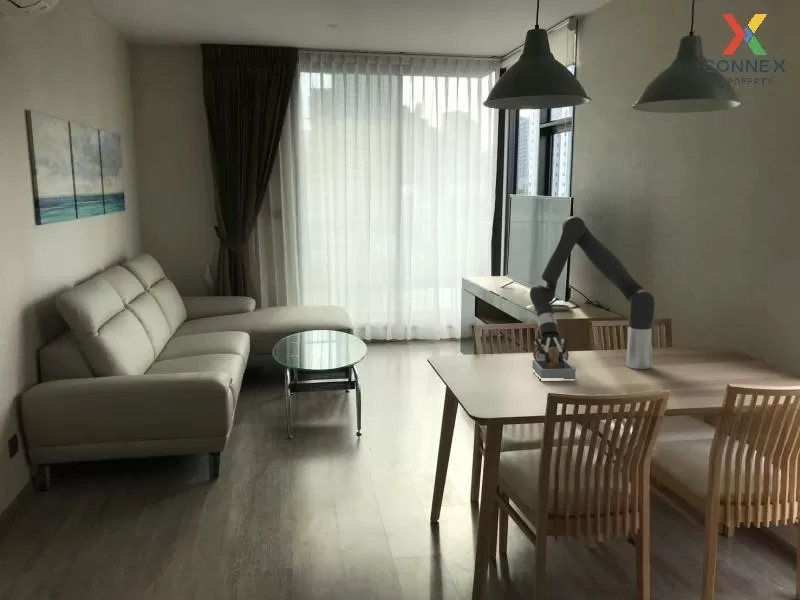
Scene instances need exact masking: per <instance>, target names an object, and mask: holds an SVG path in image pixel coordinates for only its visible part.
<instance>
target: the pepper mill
mask: <svg viewBox="0 0 800 600" xmlns="http://www.w3.org/2000/svg"><path fill="white" fill-rule="evenodd" d="M548 353H549V358H550V362H549V363H548V366H547V369H559V349H558V348H557V347H555V346H552V347H550V348H549V350H548Z"/></svg>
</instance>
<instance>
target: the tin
mask: <svg viewBox="0 0 800 600" xmlns="http://www.w3.org/2000/svg"><path fill="white" fill-rule="evenodd" d="M559 345H560V344H559ZM541 346H542V348H543V350H544V348H545V346H544V345H543V344H541ZM560 348H561V349H563V345H562V344H561V345H560ZM548 350H549V348H548ZM532 355H533V356H532V357H533V360H545V357H544V354H539V352H538V350H537V348H536V347H535V348H534V350H533V353H532ZM562 355H563V360H566V361H567V362H568V360H569V355H570V354H569V350H568V348H567V349H566V352H565V354H562Z"/></svg>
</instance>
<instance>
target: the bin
mask: <svg viewBox="0 0 800 600" xmlns="http://www.w3.org/2000/svg"><path fill="white" fill-rule="evenodd" d="M547 366H548V363H547V362H546V361H545V360H535V359H533V360H532V364H531V367H532V368H533V369H534V370H535V372H536V373H537V374H538V375H539V376H540V377H541V378H564V379H575V380H576V368H575V367H573V365H572V364H571V363H569V362H568V360H567V361H566V360H563V361H562V362H561V363H559V369H547ZM532 368H531V369H532Z"/></svg>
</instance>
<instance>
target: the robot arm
mask: <svg viewBox="0 0 800 600" xmlns="http://www.w3.org/2000/svg"><path fill="white" fill-rule="evenodd" d="M561 227H562V228H561V229H562V232H561V236H560V239H559V241H558V243H557V246H556V247H555V249H554V252H553V253H552V255H551V256H550V258H549V260H548V262H547V263H546V266H545V268H544V270H543V272H542V274H541V279H542V280H543V281H544V282H546V286H545V285H544V286H543V285H542V284H534V285H533V286H532V287H531V288H530V290H529V298H530V300H531V303H532V304H533V307H534V308H535V311H536V315H537V324H538V326H537V327H538V330H539V331H538V332H539V336H540V338H539V339H537V338H536V339H534V342H533V344H534V346H535V348H537V350H538V352H539V354H544V357H545V361H546V362H547V363H549V362H550V358H549V353H548V348H550V347H552V346H555V347H557V348H558V349H559V363H561V362H562V361H563V355H562V354H565V352H566V349H567V350H568V348H567V347H568V342H569V341H568V340H569V339H568V338H561V336H560V333H559V328H558V323H557V318H556V314H555V311H554V306H553V305H552V304H551V303H552V302H553V300H554V298H555V295H556V290H557V285H558V281H559V279H560V277H561V275H562V272H563V270H564V268H565V266H566V263H567V261H568V259H569V256H570V255H571V253H572V251H573V250H574V247H575V246H576V245H577V246H579V248H580V249H581V250H582V252H583V253H584V254H585V256H586V258H588V261H590V262H591V264H592V265H593V266H594V267H595V269H596V270H597V271H598V272H599V273H600V274H601V275H602V276H603V277H604V278H605V279H606V280H607V281H609V282H610V283H611V284H612V285H613V286H615V287H616V288H617V289H618V290H619V292H620V293H621V294H622V295H623V296H624V298H625V299H626V300H627V302H628V303H629V305H630V313H629V314H630V315H629V320H628V328H627V329H628V331H627V347H626V348H627V349H626V367H628V368H630V369H636V370H646V369H651V368H652V356H653V345H652V344H651V343H652V327H653V322H654V315H655V298H654V296H653V295H652V293H650V292H649V291H648V290H646V288H644V287H643V286H641V285H640V284H639V283H638V282H637V280H635V279H634V278H633V276H632V275H630V272H629V271H628V270H627V268H626V266H625V265H624V263H622V261H620V259H619V258H618V257H617V256H616V255H615V254H614V253H613V252H612V250H611V249H610V248H608V247H607V246H606V245H605V244H604V243H603V242H601V241H600V240H598V239H597V238H596V237H595V236H594V234H593V233H592V232H591V231H590V229H589V228H588V227H587V226H586V223H585V221H584V220H583V219H582V218H581V217H579V216H575V215H573V216H572V215H571V216H568V217H567V218H565V220H564V221H563V223H562V226H561ZM560 343H561V346H563V349H561V348H560ZM541 345H544V346H545V348H544V350H543V348H542V346H541Z"/></svg>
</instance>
